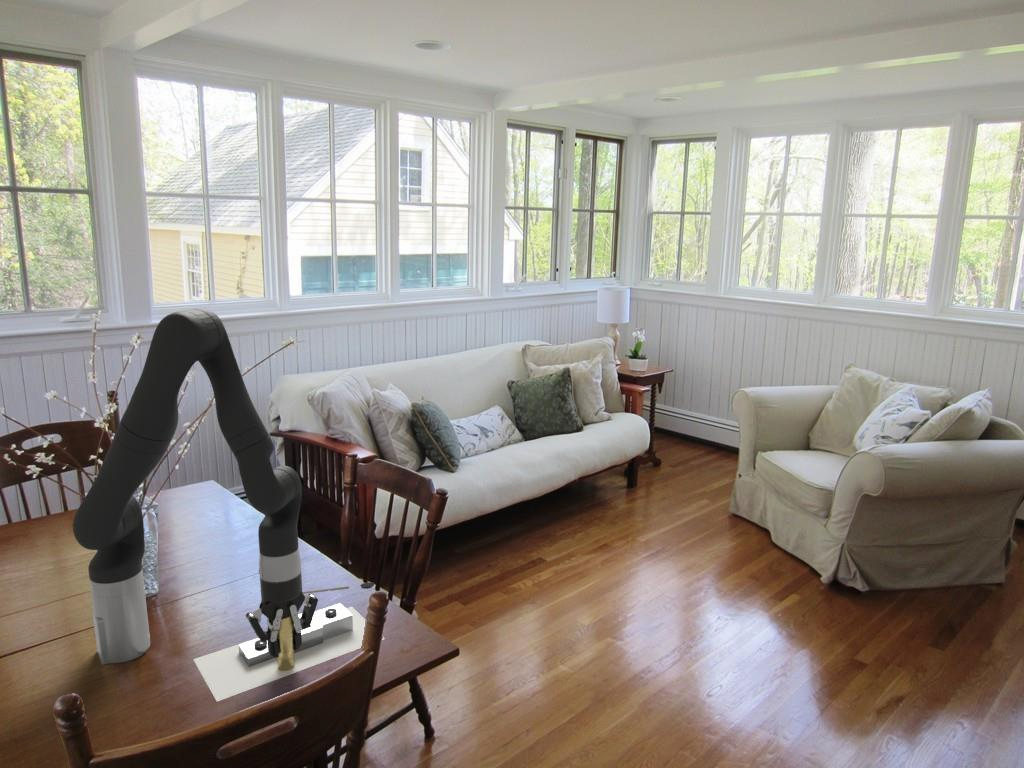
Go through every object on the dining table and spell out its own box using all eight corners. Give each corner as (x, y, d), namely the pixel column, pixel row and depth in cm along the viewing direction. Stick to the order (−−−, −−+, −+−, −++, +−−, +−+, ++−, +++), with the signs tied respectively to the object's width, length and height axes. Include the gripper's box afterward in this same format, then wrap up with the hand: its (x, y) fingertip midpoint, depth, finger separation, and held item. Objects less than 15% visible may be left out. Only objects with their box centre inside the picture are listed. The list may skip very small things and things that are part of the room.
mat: (217, 704, 131) (216, 701, 131) (193, 661, 144) (193, 659, 144) (385, 641, 152) (385, 638, 152) (351, 608, 164) (351, 606, 164)
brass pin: (281, 673, 140) (278, 621, 137) (275, 665, 142) (272, 614, 140) (297, 667, 142) (294, 616, 139) (291, 659, 144) (288, 609, 142)
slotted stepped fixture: (250, 669, 141) (248, 649, 140) (237, 650, 147) (236, 632, 146) (354, 631, 154) (353, 613, 153) (339, 616, 160) (338, 599, 159)
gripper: (249, 590, 130) (255, 674, 134) (323, 568, 139) (327, 648, 143) (236, 573, 136) (242, 655, 140) (308, 553, 145) (312, 631, 148)
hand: (285, 651), depth 141 cm, fingers open, 3 cm apart
